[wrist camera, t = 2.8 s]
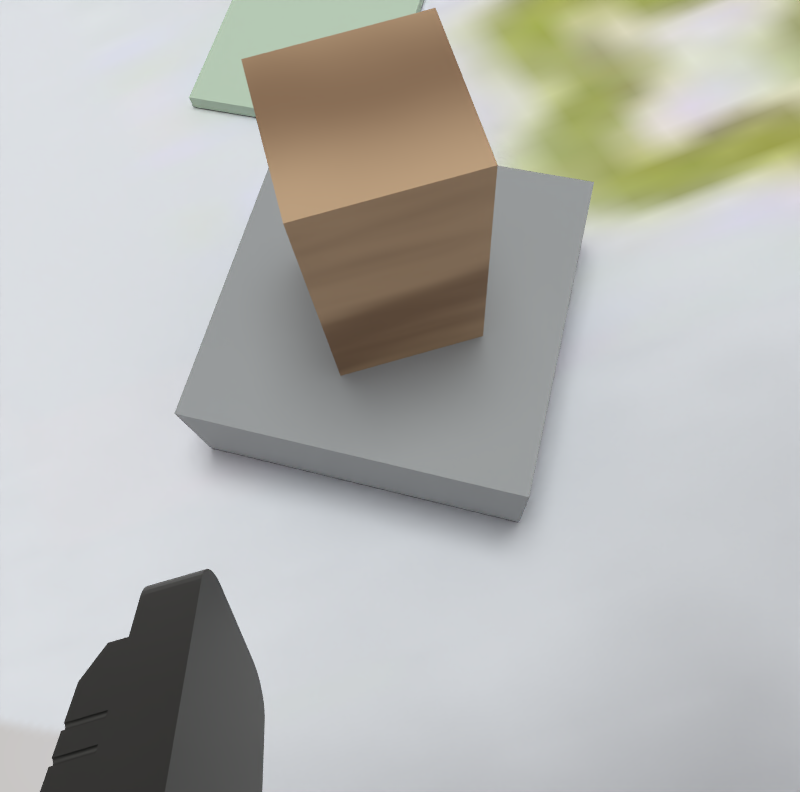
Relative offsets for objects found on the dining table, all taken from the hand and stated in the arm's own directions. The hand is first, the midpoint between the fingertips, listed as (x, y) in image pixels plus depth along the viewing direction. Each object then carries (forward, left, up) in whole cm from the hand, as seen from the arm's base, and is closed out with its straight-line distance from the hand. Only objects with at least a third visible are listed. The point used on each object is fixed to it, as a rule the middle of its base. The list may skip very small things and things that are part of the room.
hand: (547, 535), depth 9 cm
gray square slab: (+6, -10, -18) cm, 21 cm away
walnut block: (+6, -10, -14) cm, 18 cm away
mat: (+14, -24, -18) cm, 33 cm away
